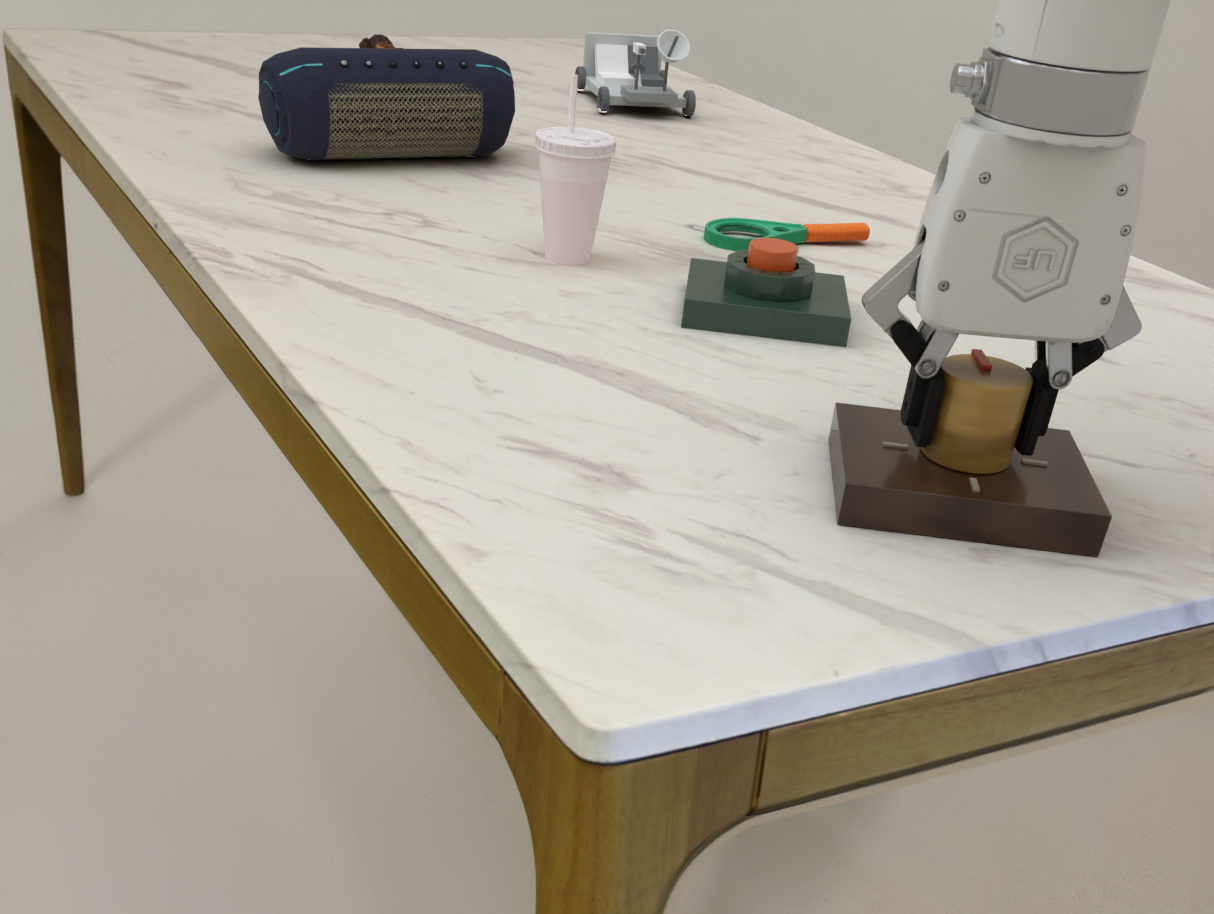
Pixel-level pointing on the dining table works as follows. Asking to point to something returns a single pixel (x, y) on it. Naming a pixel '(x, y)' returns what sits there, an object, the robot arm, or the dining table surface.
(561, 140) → the smoothie
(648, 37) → the toy car
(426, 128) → the portable speaker
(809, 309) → the button box
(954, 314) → the robot arm
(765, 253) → the button
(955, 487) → the holder base
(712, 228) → the magnifying glass
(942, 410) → the dial
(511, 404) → the dining table surface
